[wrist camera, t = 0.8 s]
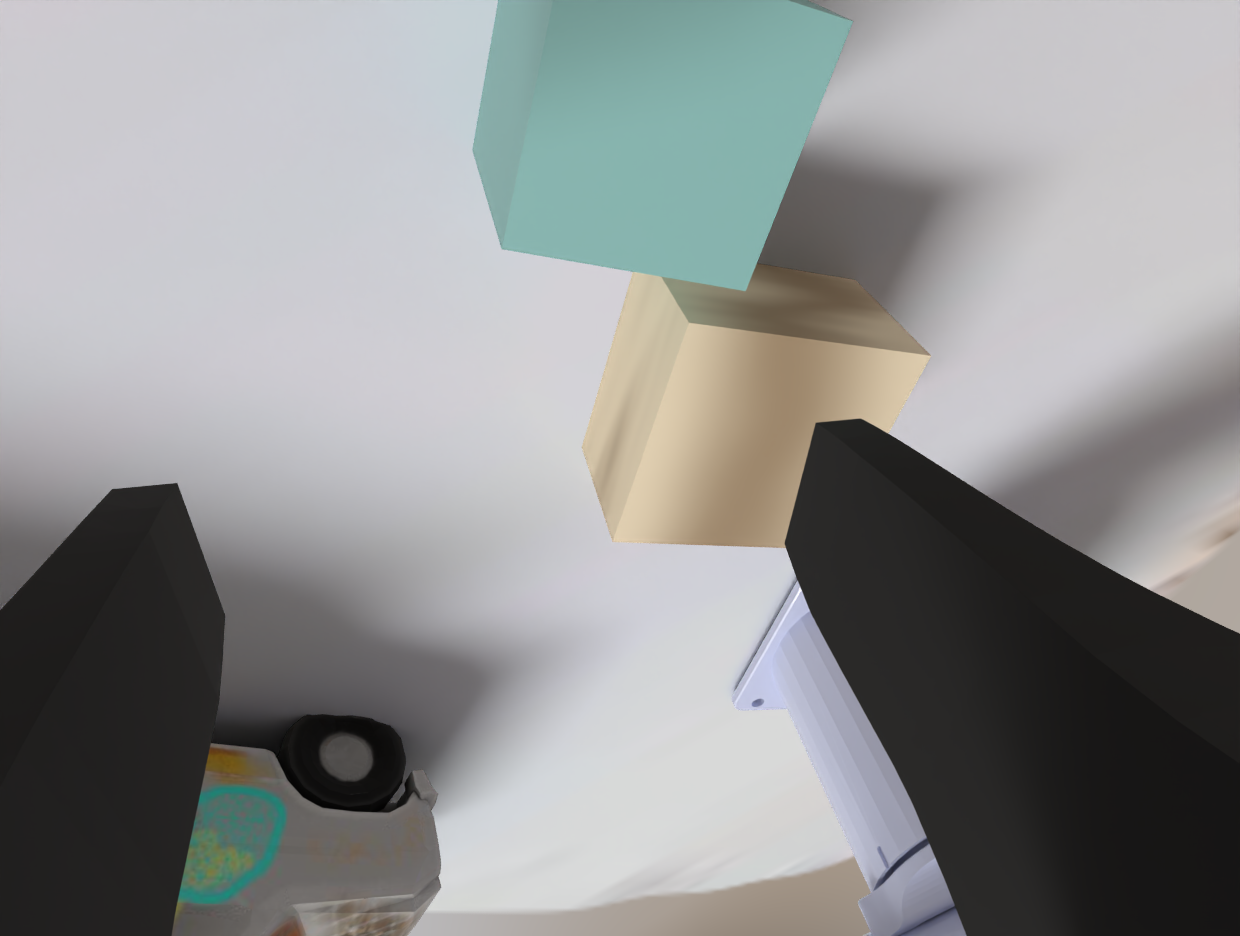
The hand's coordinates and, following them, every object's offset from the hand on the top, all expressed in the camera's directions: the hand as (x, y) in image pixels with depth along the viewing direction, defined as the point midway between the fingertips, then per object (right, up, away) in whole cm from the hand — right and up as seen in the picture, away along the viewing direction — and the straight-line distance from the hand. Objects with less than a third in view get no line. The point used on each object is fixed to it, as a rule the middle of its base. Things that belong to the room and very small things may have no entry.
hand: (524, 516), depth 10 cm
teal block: (+1, +9, +7) cm, 11 cm away
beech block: (+4, +3, +12) cm, 13 cm away
